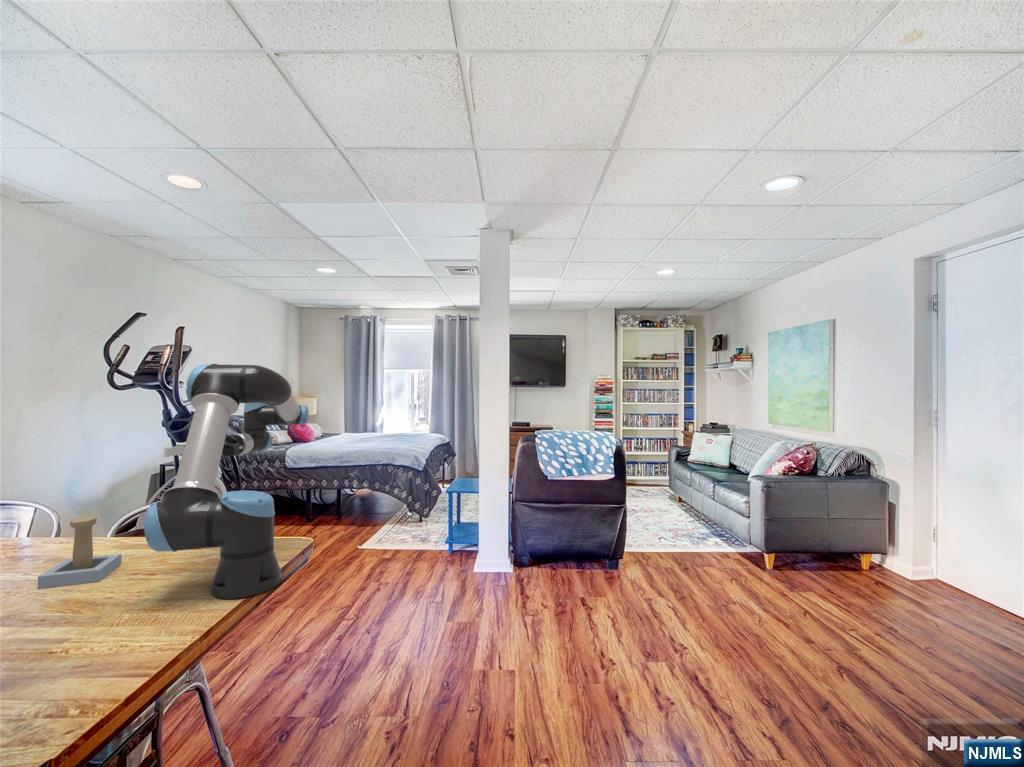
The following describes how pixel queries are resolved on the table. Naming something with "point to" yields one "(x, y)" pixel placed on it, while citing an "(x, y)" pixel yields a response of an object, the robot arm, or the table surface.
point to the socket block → (79, 572)
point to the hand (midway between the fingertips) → (184, 452)
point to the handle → (83, 542)
